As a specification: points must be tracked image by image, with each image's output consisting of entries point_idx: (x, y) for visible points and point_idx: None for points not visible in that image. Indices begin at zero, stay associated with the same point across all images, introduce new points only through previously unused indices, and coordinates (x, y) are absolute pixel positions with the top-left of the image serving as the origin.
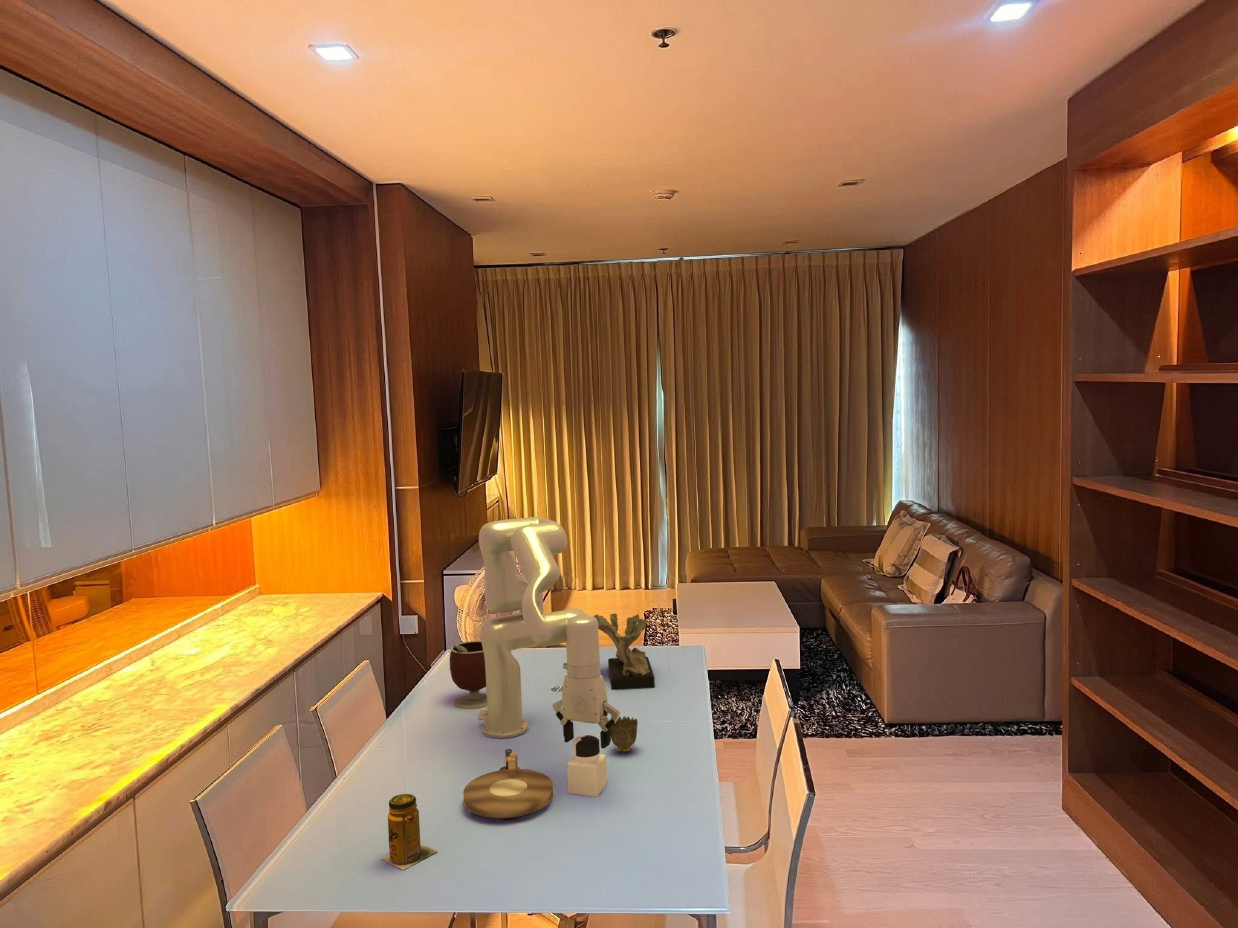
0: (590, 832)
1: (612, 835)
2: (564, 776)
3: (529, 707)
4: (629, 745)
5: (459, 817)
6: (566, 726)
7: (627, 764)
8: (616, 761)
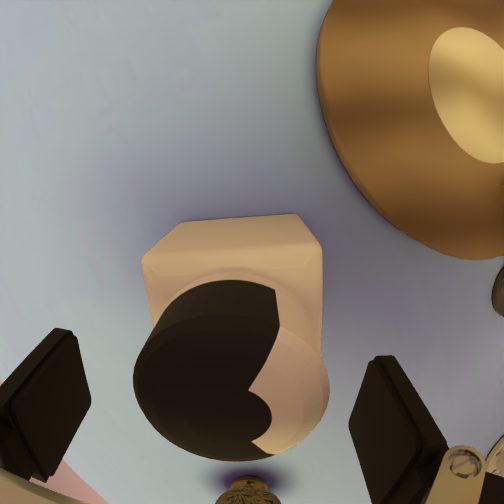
0: (104, 8)
1: (46, 31)
2: (363, 329)
3: None
4: (223, 493)
5: None
6: (418, 448)
7: None
8: None
